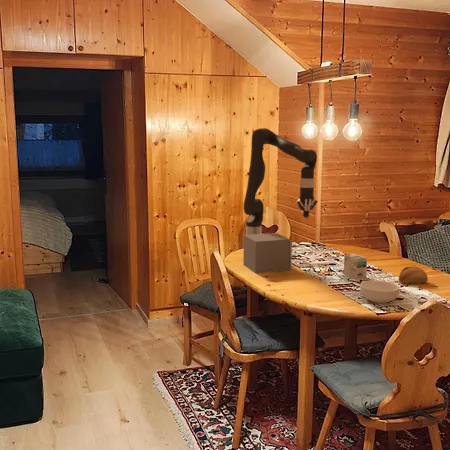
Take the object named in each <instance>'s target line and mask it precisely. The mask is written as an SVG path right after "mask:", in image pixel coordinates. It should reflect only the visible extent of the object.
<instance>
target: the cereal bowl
mask: <svg viewBox="0 0 450 450" xmlns="http://www.w3.org/2000/svg"><path fill="white" fill-rule="evenodd" d="M359 288H360V294H361V295H362V296H363V297H364V298H365V299H367V300H369V301H370V302H372V303H375V304H386V303H389V302H392V301H394V300H396V299H397V298H398V296H399V293H400V286H399V285H397V284H395V283H392V282H389V281H385V280H375V279H374V280H365V281H362V282H361V283H360V286H359Z"/></svg>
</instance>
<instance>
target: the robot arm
mask: <svg viewBox="0 0 450 450" xmlns="http://www.w3.org/2000/svg"><path fill="white" fill-rule="evenodd" d="M265 145H270V146H274V147H276V148H277V149H279V150H280V151H281V152H282V153H284V154H286V155H288V156H291V157H293V158H295V159H296V160H297V161H298V162H300V163H302V164H303V163H304V166H303V167H302V168H301V170H300V181H299V182H300V183H299V198H298V199H297V200H295V204H296V205H297V206H298V208H299V209H300V210H301V211H303V215H302V216H303V217H304V218H305V219H306V218H307V219H308V218H309V217H310V211H312V210H313V209H314V208H315V206H316V205H317V204H318V200H316V199H315V197H314V195H315V194H314V193H315V181H314V180H315V178H314V177H315V168H316V164H317V159H318V156H317V155H318V154H317V153H316V150H314V149H304V148H302V147H301V146H300V145H299V144H297V143H295V142H292V141H291V140H287V139H286V138H283V137H281V136H280V135H279V134H277V133H275V132H274V131H272V130H270V129H269V128H266V127H263V128H255V129H254V130H253V131H252V135H251V154H250V163H249V170H248V180H247V186H246V191H245V197H244V201H243V211H244V214H245V215H247V216H250V218H249V219H246V223H245V224H246V225H245V235H252V234H262V228H263V227H262V224H263V221H264V210H265V209H264V203H263V201H262V200H261V199H260V198H256V195H257V192H258V190H259V188H260V187H261V185H262V184H263V182H264V179H265V175H266V163H265V161H264V157H263V150H264V146H265Z"/></svg>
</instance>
